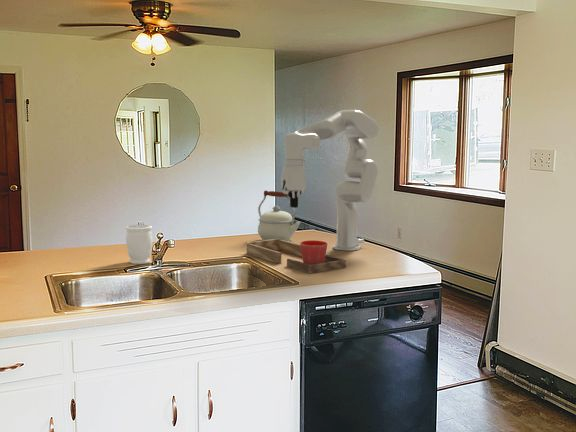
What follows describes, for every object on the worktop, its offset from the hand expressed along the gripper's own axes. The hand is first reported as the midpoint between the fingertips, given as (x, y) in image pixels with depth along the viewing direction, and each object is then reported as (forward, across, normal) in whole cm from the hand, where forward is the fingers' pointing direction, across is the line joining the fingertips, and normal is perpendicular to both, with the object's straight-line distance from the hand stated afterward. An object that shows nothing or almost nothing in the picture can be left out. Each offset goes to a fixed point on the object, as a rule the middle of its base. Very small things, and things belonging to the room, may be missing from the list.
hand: (294, 207), depth 248 cm
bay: (+22, 0, +15) cm, 27 cm away
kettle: (+23, -20, -38) cm, 49 cm away
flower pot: (+23, +1, +14) cm, 27 cm away
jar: (+22, +55, -32) cm, 68 cm away
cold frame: (+23, 0, -10) cm, 25 cm away
